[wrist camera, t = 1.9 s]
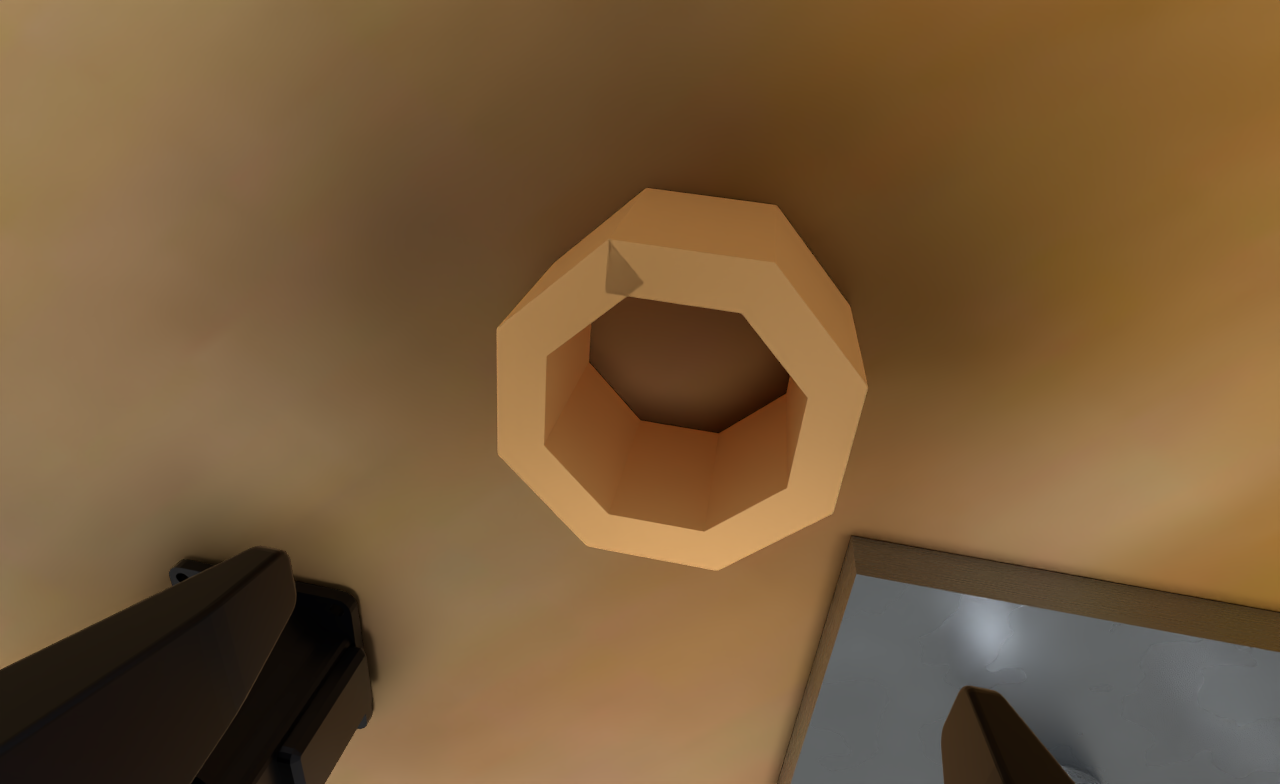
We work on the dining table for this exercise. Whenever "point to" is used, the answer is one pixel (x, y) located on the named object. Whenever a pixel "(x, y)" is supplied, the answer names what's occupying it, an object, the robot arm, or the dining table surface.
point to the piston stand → (1035, 674)
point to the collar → (669, 455)
